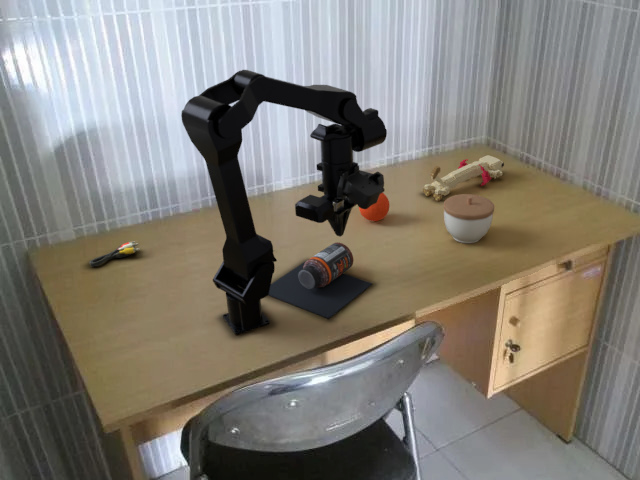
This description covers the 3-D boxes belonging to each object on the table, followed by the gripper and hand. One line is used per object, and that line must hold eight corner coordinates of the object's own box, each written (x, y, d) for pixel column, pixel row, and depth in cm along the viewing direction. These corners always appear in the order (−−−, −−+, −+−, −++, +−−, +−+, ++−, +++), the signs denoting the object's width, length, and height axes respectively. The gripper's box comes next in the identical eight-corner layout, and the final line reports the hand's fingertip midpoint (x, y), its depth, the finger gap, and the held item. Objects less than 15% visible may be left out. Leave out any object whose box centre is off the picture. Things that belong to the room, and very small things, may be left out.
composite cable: (92, 268, 134) (89, 258, 132) (86, 258, 137) (83, 247, 136) (142, 256, 138) (140, 245, 137) (136, 246, 142) (133, 235, 140)
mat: (307, 261, 138) (307, 260, 138) (372, 284, 131) (372, 283, 131) (260, 292, 128) (260, 291, 128) (328, 319, 121) (328, 317, 121)
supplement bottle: (355, 272, 134) (319, 298, 126) (331, 264, 137) (295, 289, 129) (354, 245, 131) (317, 271, 123) (329, 237, 133) (292, 262, 125)
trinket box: (433, 241, 146) (435, 201, 141) (454, 221, 154) (456, 183, 149) (480, 253, 142) (483, 212, 137) (498, 232, 150) (502, 193, 145)
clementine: (350, 216, 155) (349, 187, 151) (375, 208, 159) (374, 180, 155) (370, 229, 150) (370, 200, 146) (395, 221, 154) (396, 192, 150)
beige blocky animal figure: (445, 209, 162) (514, 175, 175) (445, 176, 157) (516, 143, 170) (417, 196, 168) (485, 163, 181) (416, 163, 163) (486, 132, 176)
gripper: (342, 186, 112) (345, 268, 120) (402, 152, 125) (400, 227, 134) (290, 171, 117) (296, 250, 125) (353, 140, 130) (354, 213, 139)
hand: (339, 235), depth 131 cm, fingers closed
